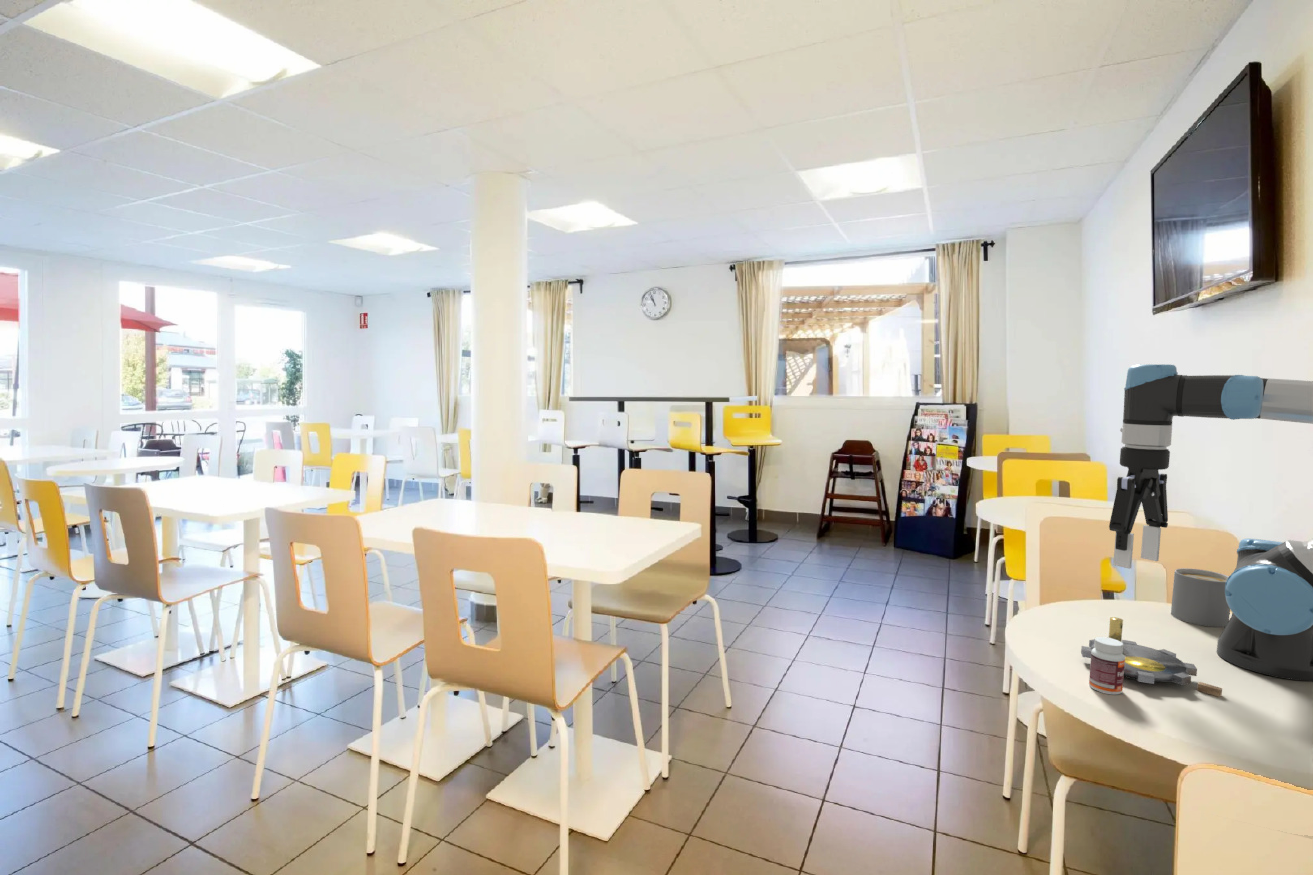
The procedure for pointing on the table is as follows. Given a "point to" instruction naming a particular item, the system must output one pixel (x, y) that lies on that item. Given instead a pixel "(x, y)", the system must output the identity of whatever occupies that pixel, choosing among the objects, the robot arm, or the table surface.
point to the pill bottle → (1107, 666)
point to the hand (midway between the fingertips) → (1136, 562)
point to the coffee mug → (1200, 597)
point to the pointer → (1209, 689)
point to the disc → (1147, 660)
